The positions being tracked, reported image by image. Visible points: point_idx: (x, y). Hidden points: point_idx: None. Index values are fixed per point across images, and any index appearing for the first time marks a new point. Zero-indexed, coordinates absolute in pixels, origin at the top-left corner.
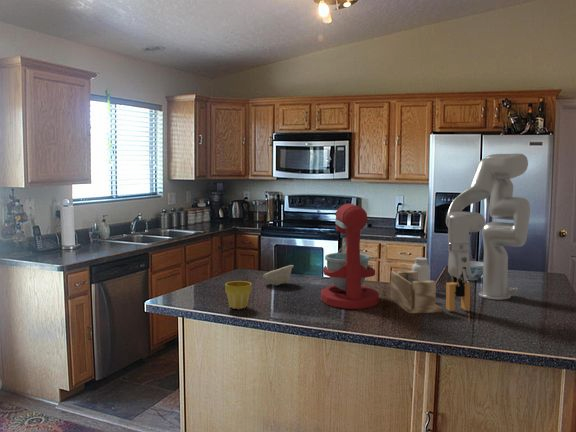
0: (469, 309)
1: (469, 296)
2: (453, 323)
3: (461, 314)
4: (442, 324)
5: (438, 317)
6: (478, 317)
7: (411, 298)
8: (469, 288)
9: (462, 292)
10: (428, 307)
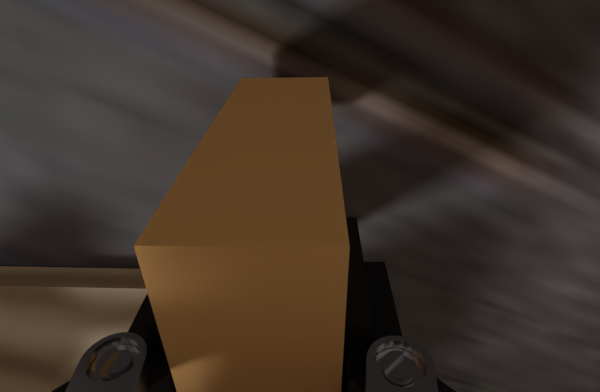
0: (327, 79)
1: (334, 132)
2: (566, 302)
3: (376, 168)
4: (554, 356)
5: (411, 329)
6: (505, 64)
7: (25, 367)
8: (340, 194)
9: (387, 287)
10: None
